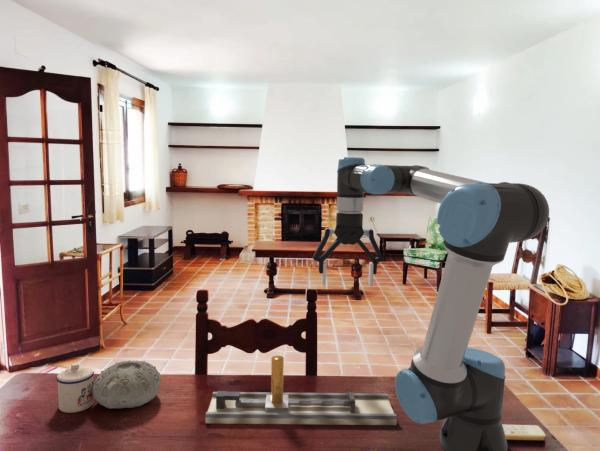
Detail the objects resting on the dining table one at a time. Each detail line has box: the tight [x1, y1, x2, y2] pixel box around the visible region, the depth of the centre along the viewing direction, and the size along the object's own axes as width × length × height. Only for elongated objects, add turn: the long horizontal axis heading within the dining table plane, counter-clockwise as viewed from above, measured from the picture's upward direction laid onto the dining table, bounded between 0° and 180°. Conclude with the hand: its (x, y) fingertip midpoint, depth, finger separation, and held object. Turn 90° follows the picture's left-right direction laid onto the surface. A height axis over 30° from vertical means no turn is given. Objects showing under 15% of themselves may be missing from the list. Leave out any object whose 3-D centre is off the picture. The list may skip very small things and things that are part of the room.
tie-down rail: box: [205, 390, 398, 426], centre depth 126 cm, size 49×12×5 cm, turn 91°
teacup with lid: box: [55, 362, 95, 414], centre depth 128 cm, size 12×9×12 cm
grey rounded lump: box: [92, 360, 162, 410], centre depth 130 cm, size 18×18×10 cm
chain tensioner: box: [235, 355, 350, 412], centre depth 125 cm, size 32×7×13 cm, turn 91°
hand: (347, 284), depth 137 cm, fingers open, 13 cm apart
